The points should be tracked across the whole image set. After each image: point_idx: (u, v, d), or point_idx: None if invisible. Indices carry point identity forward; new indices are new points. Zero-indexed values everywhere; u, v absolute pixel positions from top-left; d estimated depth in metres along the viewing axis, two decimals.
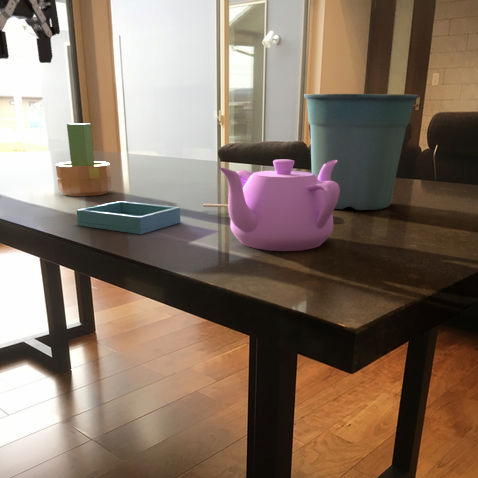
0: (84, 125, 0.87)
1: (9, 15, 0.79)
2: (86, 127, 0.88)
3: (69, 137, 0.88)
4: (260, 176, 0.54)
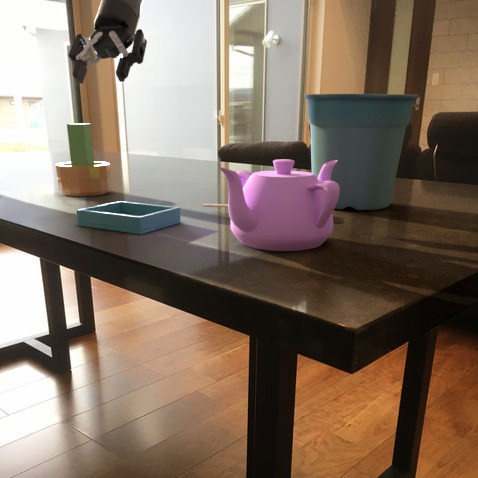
0: (84, 125, 0.87)
1: None
2: (86, 127, 0.88)
3: (69, 137, 0.88)
4: (260, 176, 0.54)
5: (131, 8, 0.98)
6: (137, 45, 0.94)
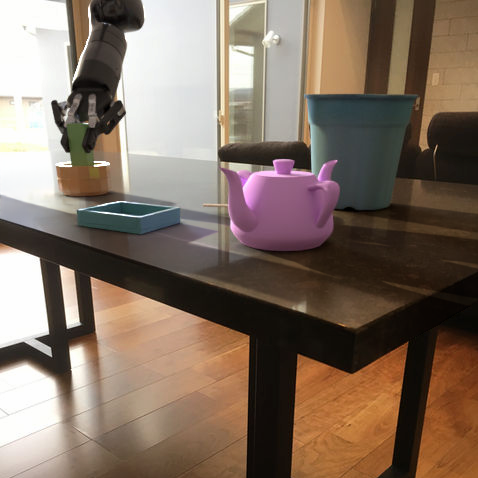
0: (84, 125, 0.87)
1: None
2: (86, 127, 0.88)
3: (69, 137, 0.88)
4: (260, 176, 0.54)
5: (112, 70, 0.92)
6: (108, 117, 0.88)
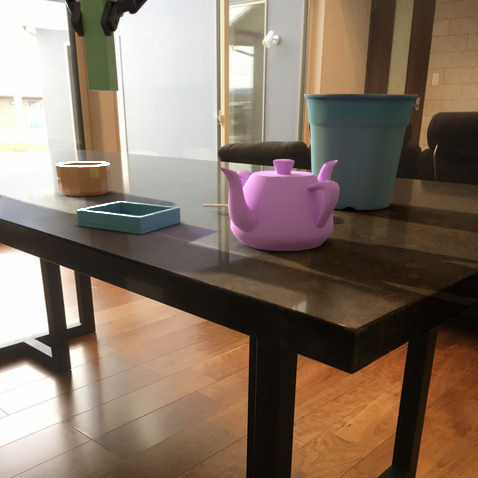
0: None
1: None
2: (106, 0, 0.65)
3: (83, 13, 0.65)
4: (260, 176, 0.54)
5: None
6: None
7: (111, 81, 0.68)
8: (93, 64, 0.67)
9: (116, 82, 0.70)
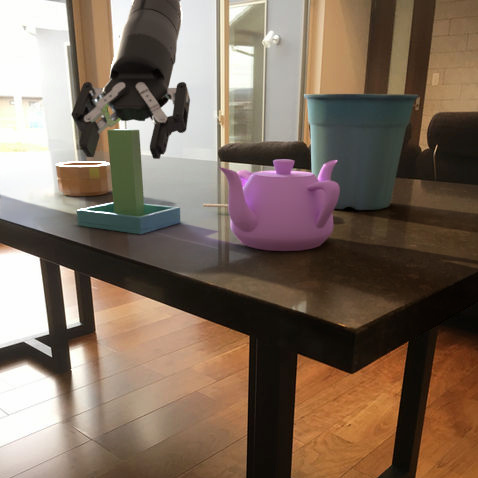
0: (132, 132, 0.62)
1: None
2: (135, 135, 0.63)
3: (110, 149, 0.63)
4: (260, 176, 0.54)
5: (166, 50, 0.67)
6: (181, 106, 0.63)
7: (138, 213, 0.65)
8: (120, 198, 0.65)
9: (143, 211, 0.67)
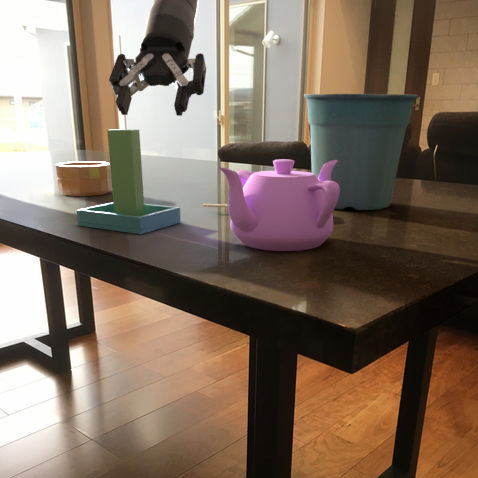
0: (132, 132, 0.62)
1: None
2: (135, 135, 0.63)
3: (110, 149, 0.63)
4: (260, 176, 0.54)
5: (186, 28, 0.80)
6: (199, 73, 0.77)
7: (138, 213, 0.65)
8: (120, 198, 0.65)
9: (143, 211, 0.67)
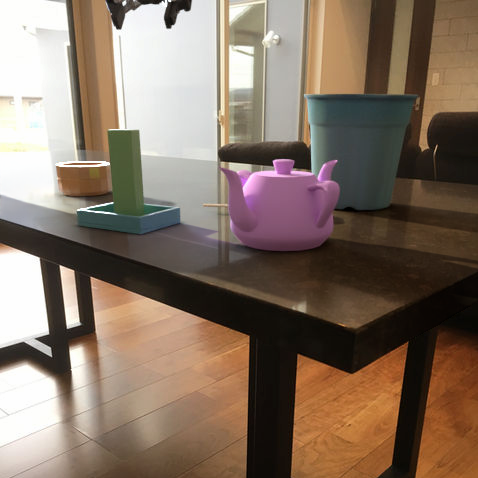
0: (132, 132, 0.62)
1: None
2: (135, 135, 0.63)
3: (110, 149, 0.63)
4: (260, 176, 0.54)
5: None
6: None
7: (138, 213, 0.65)
8: (120, 198, 0.65)
9: (143, 211, 0.67)
